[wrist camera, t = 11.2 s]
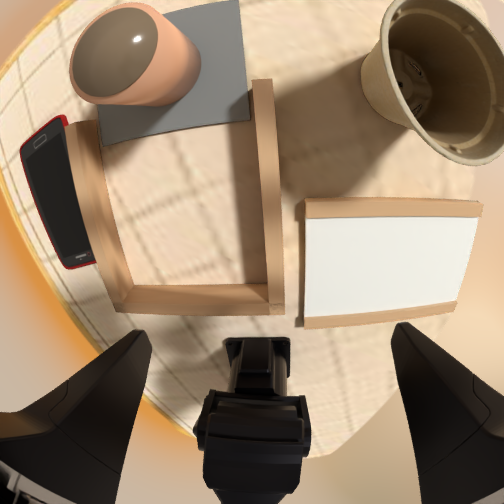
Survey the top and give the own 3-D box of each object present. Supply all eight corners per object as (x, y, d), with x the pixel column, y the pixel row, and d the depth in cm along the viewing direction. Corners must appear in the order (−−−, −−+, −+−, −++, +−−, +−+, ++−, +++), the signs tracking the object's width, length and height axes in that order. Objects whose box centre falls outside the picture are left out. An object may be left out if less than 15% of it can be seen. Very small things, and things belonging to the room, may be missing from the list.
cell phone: (67, 110, 17) (61, 111, 16) (118, 253, 23) (113, 258, 23) (23, 146, 18) (17, 148, 18) (70, 267, 25) (65, 271, 24)
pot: (204, 98, 16) (168, 85, 10) (129, 114, 17) (70, 118, 11) (198, 26, 14) (163, -14, 7) (124, 47, 14) (68, 28, 8)
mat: (250, 119, 17) (250, 119, 17) (104, 146, 18) (102, 146, 18) (238, 0, 13) (238, -1, 12) (96, 40, 14) (94, 40, 14)
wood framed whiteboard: (477, 201, 18) (483, 204, 17) (449, 306, 23) (453, 311, 22) (304, 198, 20) (306, 202, 19) (303, 322, 25) (304, 329, 24)
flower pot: (318, 110, 16) (355, 102, 9) (356, 10, 12) (400, -40, 5) (423, 164, 17) (493, 197, 10) (454, 71, 13) (525, 66, 5)
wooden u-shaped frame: (283, 293, 24) (284, 314, 21) (127, 295, 25) (116, 312, 23) (272, 84, 16) (272, 78, 13) (85, 123, 17) (64, 126, 15)
